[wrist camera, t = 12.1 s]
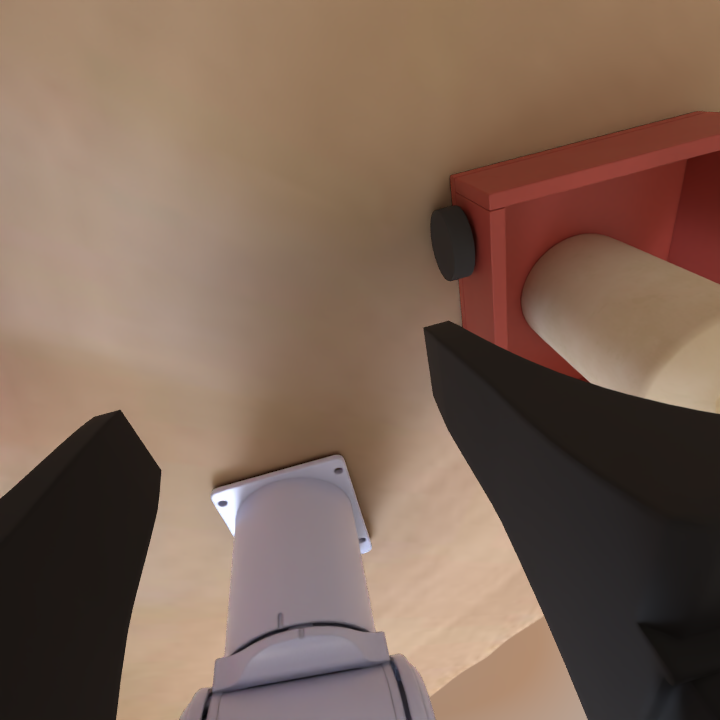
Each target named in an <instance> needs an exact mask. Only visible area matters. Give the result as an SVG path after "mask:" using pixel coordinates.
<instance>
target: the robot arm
mask: <svg viewBox="0 0 720 720" xmlns="http://www.w3.org/2000/svg"><path fill="white" fill-rule="evenodd" d="M424 335H425V342H426V349H427V356H428V363H429V370H430V377H431V384H432V391H433V396H434V398H435V401H436V403H437V406H438V408H439V410H440V413H441V415H442V417H443V420H444V422H445V424H446V426H447V429H448V431H449V432H450V434H451V436H452V437H453V439H454V441H455V443H456V444H457V446H458V448H459V449H460V451H461V453H462V455H463V456H464V458H465V460H466V461H467V463H468V465H469V466H470V468H471V470H472V471H473V473H474V475H475V476H476V478H477V480H478V481H479V483H480V485H481V486H482V488H483V490H484V491H485V493H486V495H487V497H488V498H489V500H490V502H491V503H492V505H493V507H494V509H495V511H496V512H497V514H498V516H499V518H500V520H501V522H502V524H503V526H504V528H505V530H506V532H507V535H508V537H509V539H510V541H511V543H512V545H513V547H514V550H515V552H516V554H517V556H518V558H519V560H520V562H521V565H522V567H523V569H524V571H525V574H526V576H527V578H528V580H529V583H530V585H531V587H532V589H533V591H534V594H535V596H536V598H537V600H538V603H539V605H540V607H541V609H542V612H543V614H544V616H545V619H546V621H547V623H548V626H549V628H550V630H551V632H552V635H553V637H554V639H555V642H556V644H557V646H558V649H559V651H560V653H561V656H562V658H563V660H564V662H565V665H566V668H567V670H568V672H569V675H570V677H571V680H572V682H573V685H574V687H575V689H576V692H577V694H578V697H579V699H580V701H581V704H582V706H583V709H584V711H585V714H586V716H587V718H588V720H720V414H717V413H711V412H706V411H700V410H695V409H690V408H685V407H680V406H675V405H670V404H666V403H662V402H658V401H654V400H650V399H645V398H641V397H637V396H633V395H629V394H625V393H622V392H618V391H614V390H611V389H607V388H604V387H601V386H598V385H595V384H592V383H589V382H585V381H582V380H579V379H576V378H573V377H570V376H567V375H565V374H562V373H559V372H557V371H554V370H552V369H549V368H547V367H544V366H542V365H539V364H537V363H534V362H532V361H530V360H527V359H525V358H523V357H521V356H518V355H516V354H514V353H512V352H510V351H508V350H505V349H503V348H501V347H499V346H497V345H495V344H493V343H491V342H489V341H487V340H485V339H483V338H481V337H479V336H478V335H476V334H474V333H472V332H470V331H468V330H466V329H464V328H462V327H460V326H458V325H456V324H454V323H452V322H450V321H446V322H442V323H439V324H435V325H431V326H428V327H424ZM336 468H340V469H336ZM160 481H161V469H160V468H159V466H158V465H157V463H156V462H155V460H154V459H153V457H152V456H151V454H150V453H149V451H148V450H147V449H146V447H145V446H144V444H143V443H142V441H141V440H140V438H139V437H138V435H137V434H136V432H135V431H134V429H133V428H132V426H131V425H130V423H129V422H128V420H127V419H126V417H125V416H124V414H123V413H122V411H121V410H118V411H114V412H110V413H107V414H103V415H99V416H96V417H93V418H92V419H91V420H89V421H88V422H87V423H85V424H84V425H83V426H81V427H80V428H79V429H78V430H77V431H75V432H74V433H73V434H72V435H71V436H70V437H68V438H67V439H66V440H65V441H64V442H63V443H62V444H61V445H59V446H58V447H57V448H56V449H55V450H54V451H53V452H52V453H51V454H50V455H48V456H47V457H46V458H45V459H44V460H43V461H42V462H41V463H40V464H39V465H37V466H36V467H35V468H34V469H33V470H32V471H31V472H30V473H29V474H28V475H26V476H25V477H24V478H23V479H22V480H21V481H20V482H19V483H18V484H17V485H16V486H14V487H13V488H12V489H11V490H10V491H9V492H8V493H6V494H5V495H4V496H3V497H2V498H1V499H0V720H116V715H117V706H118V698H119V689H120V681H121V674H122V667H123V660H124V654H125V647H126V640H127V634H128V628H129V623H130V619H131V614H132V609H133V605H134V601H135V597H136V593H137V589H138V586H139V582H140V578H141V574H142V570H143V566H144V562H145V559H146V555H147V551H148V547H149V543H150V539H151V535H152V531H153V527H154V523H155V519H156V514H157V510H158V502H159V493H160ZM211 500H212V502H213V503H214V505H215V507H216V508H217V510H218V512H219V513H220V515H221V516H222V518H223V520H224V521H225V523H226V525H227V526H228V528H229V530H230V531H231V533H232V534H233V536H234V546H233V558H232V570H231V582H230V594H229V606H228V619H227V631H226V643H225V655H224V657H223V658H218V659H216V660H215V668H214V678H213V687H207V688H201V689H199V690H198V691H197V692H196V693H195V694H194V696H193V698H192V700H191V702H190V703H189V704H188V706H187V707H186V708H185V710H184V711H183V713H182V714H181V716H180V719H179V720H435V716H434V712H433V708H432V705H431V701H430V698H429V695H428V692H427V689H426V686H425V684H424V681H423V679H422V677H421V675H420V673H419V672H418V670H417V669H416V668H415V667H414V666H413V665H412V664H411V663H409V661H408V660H407V659H406V657H405V656H404V655H402V654H395V655H390V656H389V653H388V648H387V643H386V638H385V633H384V632H382V631H381V632H376V629H375V624H374V619H373V614H372V609H371V603H370V598H369V593H368V588H367V583H366V578H365V572H364V567H363V562H362V557H361V554H362V553H366V552H368V551H370V550H371V548H372V544H371V541H370V538H369V534H368V531H367V528H366V525H365V522H364V519H363V516H362V513H361V510H360V507H359V504H358V500H357V497H356V494H355V491H354V488H353V485H352V482H351V479H350V476H349V473H348V470H347V467H346V463H345V460H344V458H343V457H342V456H341V455H332V456H329V457H325V458H322V459H318V460H314V461H311V462H307V463H304V464H300V465H297V466H293V467H289V468H286V469H282V470H279V471H275V472H271V473H268V474H264V475H261V476H257V477H254V478H250V479H246V480H243V481H239V482H236V483H232V484H229V485H225V486H221V487H218V488H215V489H213V490H212V492H211ZM222 500H224V501H222Z"/></svg>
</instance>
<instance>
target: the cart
mask: <svg viewBox="0 0 720 720" xmlns="http://www.w3.org/2000/svg"><path fill="white" fill-rule="evenodd" d="M450 183H451V195H452V206H454V205H456V206H459V207H460V208H461V209H462V210H463V212H464V213H465V215H466V217H467V219H468V221H469V224H470V227H471V230H472V234H473V239H474V245H475V267H474V271H473V273H472V274H471V275H470V276H468V277H464V278H461V279H459V289H460V301H461V313H462V325H463V328H464V329H466V330H468V331H470V332H472V333H474V334H476V335H478V336H479V337H481V338H483V339H485V340H487V341H489V342H491V343H493V344H495V345H497V346H499V347H501V348H503V349H505V350H508V351H510V352H512V353H514V354H516V355H518V356H521V357H523V358H525V359H527V360H530V361H532V362H534V363H537V364H539V365H542V366H544V367H547V368H549V369H552V370H554V371H557V372H559V373H562V374H565V375H567V376H570V377H573V378H576V379H579V380H582V381H585V382H589V381H588V380H587V379H586V378H585V377H583V376H582V375H581V374H580V373H579V372H578V371H577V370H576V369H575V368H574V367H573V366H571V365H570V364H569V363H568V362H567V361H566V360H565V359H564V358H563V357H562V356H561V355H559V354H558V353H557V352H556V351H555V350H554V349H553V348H552V347H551V346H550V345H549V344H548V343H546V342H545V341H544V340H543V339H542V338H541V337H540V336H539V335H538V334H537V333H536V332H535V331H534V330H533V329H532V328H531V327H530V325H529V324H528V322H527V321H526V319H525V317H524V315H523V311H522V305H521V298H522V291H523V287H524V284H525V281H526V279H527V277H528V275H529V273H530V271H531V270H532V268H533V267H534V265H535V264H536V263H537V261H538V260H539V259H540V258H541V257H542V256H543V255H544V254H545V253H546V252H547V251H548V250H550V249H551V248H552V247H553V246H555V245H556V244H558V243H560V242H561V241H563V240H565V239H567V238H570V237H573V236H576V235H580V234H589V233H590V234H600V235H605V236H608V237H611V238H613V239H616V240H618V241H621V242H623V243H626V244H628V245H630V246H633V247H635V248H637V249H639V250H642V251H644V252H646V253H649V254H651V255H653V256H656V257H658V258H660V259H662V260H665V261H667V262H669V263H672V264H674V265H676V266H679V267H681V268H683V269H685V270H688V271H690V272H692V273H695V274H697V275H699V276H702V277H704V278H706V279H708V280H711V281H713V282H715V283H718V284H720V112H702V111H697V112H693V113H689V114H685V115H681V116H677V117H673V118H670V119H666V120H662V121H658V122H654V123H650V124H646V125H643V126H639V127H635V128H631V129H627V130H623V131H619V132H616V133H612V134H608V135H604V136H600V137H596V138H593V139H589V140H585V141H581V142H577V143H573V144H569V145H566V146H562V147H558V148H554V149H550V150H546V151H542V152H539V153H535V154H531V155H527V156H523V157H519V158H515V159H512V160H508V161H504V162H500V163H496V164H492V165H489V166H485V167H481V168H477V169H473V170H469V171H465V172H462V173H458V174H454V175H451V176H450ZM589 383H590V382H589Z"/></svg>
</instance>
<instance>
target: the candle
mask: <svg viewBox="0 0 720 720" xmlns="http://www.w3.org/2000/svg"><path fill="white" fill-rule="evenodd" d="M521 305H522V311H523V315H524V317H525V319H526V321H527V322H528V324H529V325H530V327H531V328H532V329H533V330H534V331H535V332H536V333H537V334H538V335H539V336H540V337H541V338H542V339H543V340H544V341H545V342H546V343H548V344H549V345H550V346H551V347H552V348H553V349H554V350H555V351H556V352H557V353H558V354H559V355H561V356H562V357H563V358H564V359H565V360H566V361H567V362H568V363H569V364H570V365H571V366H573V367H574V368H575V369H576V370H577V371H578V372H579V373H580V374H581V375H582V376H583V377H585V378H586V379H587V380H588V381H589V382H590V383H592V384H595V385H598V386H601V387H604V388H607V389H611V390H614V391H618V392H622V393H625V394H629V395H633V396H637V397H641V398H645V399H650V400H654V401H658V402H662V403H666V404H670V405H675V406H680V407H685V408H690V409H695V410H700V411H706V412H711V413H717V414H720V284H718V283H715V282H713V281H711V280H708V279H706V278H704V277H702V276H699V275H697V274H695V273H692V272H690V271H688V270H685V269H683V268H681V267H679V266H676V265H674V264H672V263H669V262H667V261H665V260H662V259H660V258H658V257H656V256H653V255H651V254H649V253H646V252H644V251H642V250H639V249H637V248H635V247H633V246H630V245H628V244H626V243H623V242H621V241H618V240H616V239H613V238H611V237H608V236H605V235H600V234H590V233H589V234H580V235H576V236H573V237H570V238H567V239H565V240H563V241H561V242H560V243H558V244H556V245H555V246H553V247H552V248H551V249H550V250H548V251H547V252H546V253H545V254H544V255H543V256H542V257H541V258H540V259H539V260H538V261H537V263H536V264H535V265H534V267H533V268H532V270H531V271H530V273H529V275H528V277H527V279H526V281H525V284H524V287H523V291H522V298H521Z"/></svg>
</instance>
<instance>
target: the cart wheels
mask: <svg viewBox="0 0 720 720" xmlns="http://www.w3.org/2000/svg"><path fill="white" fill-rule="evenodd" d="M431 240H432V246H433V251H434V255H435V258H436V261H437V264H438V267H439V269H440V271H441V273H442V275H443V276H444V278H445V279H446V280H448V281H453V280H457V279H461V278H464V277H468V276H470V275H471V274H472V273H473V271H474V267H475V245H474V239H473V234H472V230H471V227H470V224H469V221H468V219H467V217H466V215H465V213H464V212H463V210H462V209H461V208H460V207H459V206H456V205H454V206H450V207H446V208H442V209H439V210H435V211H434V212H433V214H432V217H431Z"/></svg>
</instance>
